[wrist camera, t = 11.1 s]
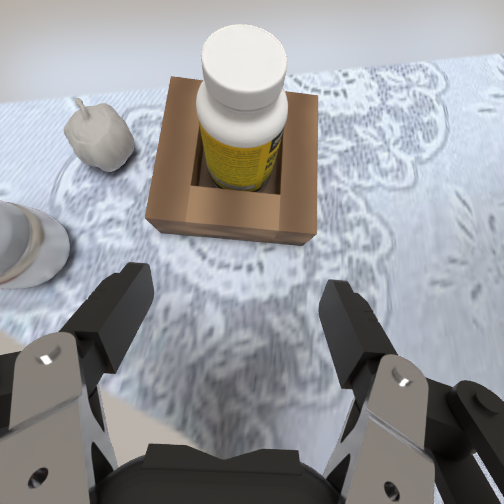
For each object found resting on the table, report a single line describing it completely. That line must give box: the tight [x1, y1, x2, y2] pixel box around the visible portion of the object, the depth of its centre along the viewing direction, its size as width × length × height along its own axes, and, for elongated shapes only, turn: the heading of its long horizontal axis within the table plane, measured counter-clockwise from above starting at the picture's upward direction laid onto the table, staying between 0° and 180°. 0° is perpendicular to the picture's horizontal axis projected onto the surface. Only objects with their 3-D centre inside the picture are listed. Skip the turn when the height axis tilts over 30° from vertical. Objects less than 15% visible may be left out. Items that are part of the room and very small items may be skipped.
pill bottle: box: [196, 24, 288, 193], centre depth 17 cm, size 6×6×11 cm
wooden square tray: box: [145, 76, 318, 246], centre depth 22 cm, size 14×14×4 cm
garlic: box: [64, 98, 134, 172], centre depth 21 cm, size 6×5×5 cm
